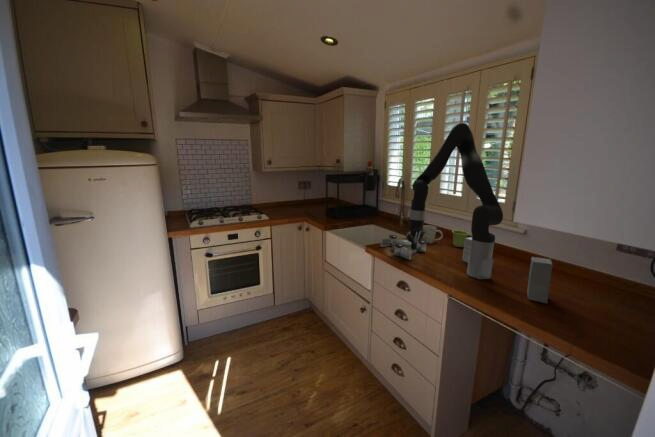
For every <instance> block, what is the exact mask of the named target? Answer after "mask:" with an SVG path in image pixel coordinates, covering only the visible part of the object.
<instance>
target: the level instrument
mask: <svg viewBox="0 0 655 437" xmlns="http://www.w3.org/2000/svg"><path fill="white" fill-rule="evenodd" d="M396 243H399V244H403V245H404V247H405V248H408V249H410V250H412V255H415V254H417V252H418V249H417V248H416V249H415V250H413V249H411V242H409V241H408V239H401V238H400V239H398V238H397V240H395V244H396ZM394 250H395V245H394V246H391V251H392V252H393V253H394Z"/></svg>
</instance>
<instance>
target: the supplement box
mask: <svg viewBox="0 0 655 437" xmlns="http://www.w3.org/2000/svg"><path fill="white" fill-rule="evenodd" d="M471 241H472V236H471V237H467V238H465V243H464V247H463V251H462V258H461V260H462V261H463V262H465V263H467V264H468V261H469V254H470V247H471Z"/></svg>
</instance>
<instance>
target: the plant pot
mask: <svg viewBox="0 0 655 437" xmlns="http://www.w3.org/2000/svg"><path fill="white" fill-rule="evenodd" d="M451 232H452V239H453V240H452V241H453V242H452V244H453V245H452V246H454V247H457V248H464V243H465V238H468V236H469V235H470V234H469V233H470V232H467V231H463V230H452V231H451Z"/></svg>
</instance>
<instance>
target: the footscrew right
mask: <svg viewBox="0 0 655 437" xmlns="http://www.w3.org/2000/svg"><path fill="white" fill-rule="evenodd" d="M427 244H428V243H427V241H425V240H423V239H421V240H420V241H418V243H417V248H416V249H417V252H420V253H425V252H426V251H427Z"/></svg>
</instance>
